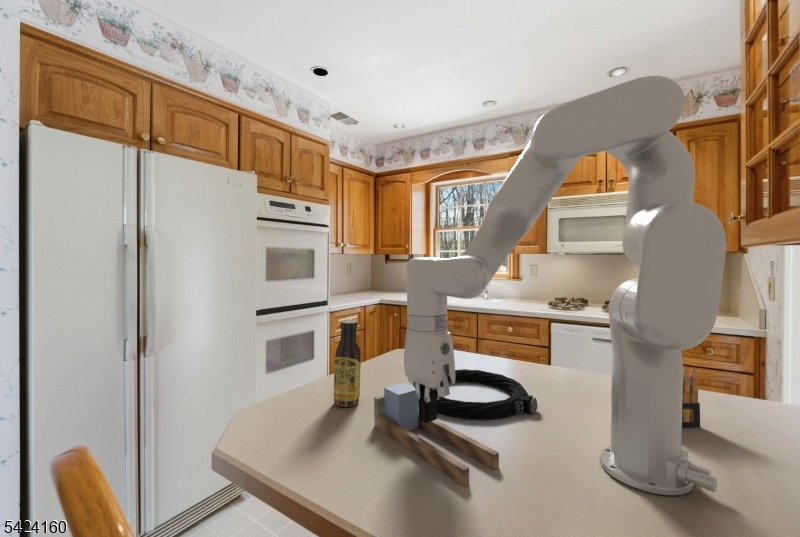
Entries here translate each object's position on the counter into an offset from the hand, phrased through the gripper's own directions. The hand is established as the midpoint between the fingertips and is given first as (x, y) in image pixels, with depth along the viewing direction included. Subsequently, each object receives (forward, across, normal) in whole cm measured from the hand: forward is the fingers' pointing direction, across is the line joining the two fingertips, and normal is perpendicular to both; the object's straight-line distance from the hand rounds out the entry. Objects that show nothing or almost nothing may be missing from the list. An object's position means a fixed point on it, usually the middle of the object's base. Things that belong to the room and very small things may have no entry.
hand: (427, 419), depth 69 cm
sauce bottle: (+4, +26, +3) cm, 26 cm away
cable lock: (+5, +10, -24) cm, 26 cm away
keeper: (+4, +8, 0) cm, 9 cm away
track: (+4, -1, 0) cm, 5 cm away
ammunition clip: (+5, -25, -45) cm, 52 cm away
